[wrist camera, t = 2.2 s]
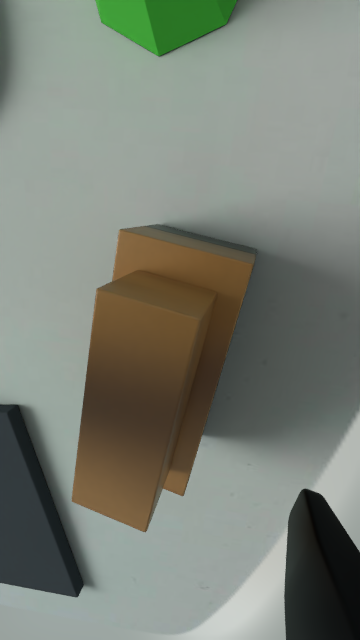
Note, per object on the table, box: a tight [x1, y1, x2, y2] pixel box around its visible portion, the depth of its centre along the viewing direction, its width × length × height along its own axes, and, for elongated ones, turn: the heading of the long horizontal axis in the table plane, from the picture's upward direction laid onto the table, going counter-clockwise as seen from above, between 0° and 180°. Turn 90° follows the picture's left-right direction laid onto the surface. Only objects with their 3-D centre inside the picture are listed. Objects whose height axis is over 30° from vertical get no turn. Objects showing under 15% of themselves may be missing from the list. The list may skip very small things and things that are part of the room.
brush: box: [72, 224, 257, 532], centre depth 11 cm, size 9×4×6 cm, turn 167°
